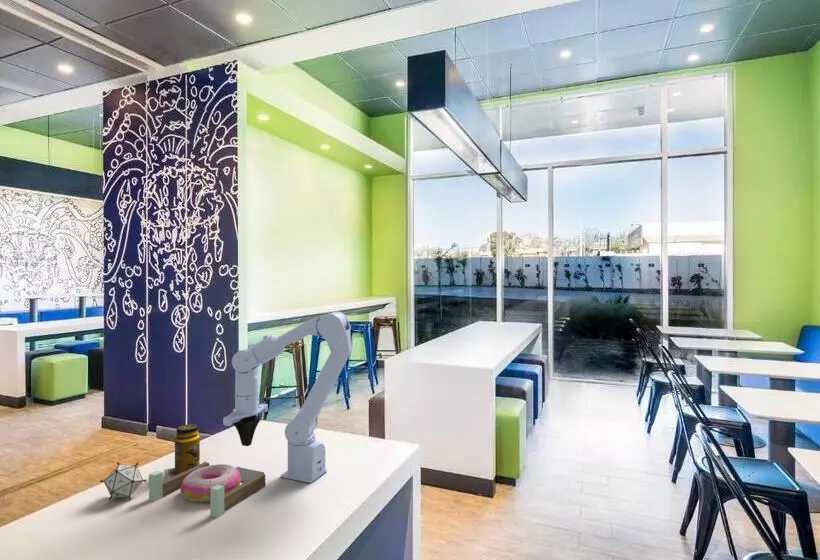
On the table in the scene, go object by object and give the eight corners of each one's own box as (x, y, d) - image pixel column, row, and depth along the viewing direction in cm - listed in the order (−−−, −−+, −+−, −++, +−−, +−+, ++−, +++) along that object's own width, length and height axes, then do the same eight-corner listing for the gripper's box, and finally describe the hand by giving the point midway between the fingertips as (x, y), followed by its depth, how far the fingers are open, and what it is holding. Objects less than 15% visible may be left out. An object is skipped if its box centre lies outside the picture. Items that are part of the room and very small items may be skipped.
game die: (122, 516, 107) (104, 495, 101) (105, 495, 111) (87, 473, 105) (158, 487, 112) (143, 465, 106) (141, 468, 116) (125, 445, 110)
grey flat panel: (263, 473, 122) (263, 472, 122) (246, 483, 116) (246, 482, 116) (237, 467, 126) (237, 466, 126) (219, 477, 120) (219, 476, 120)
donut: (198, 480, 118) (198, 460, 118) (249, 480, 118) (249, 461, 118) (169, 505, 105) (169, 484, 105) (227, 506, 105) (227, 485, 105)
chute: (266, 486, 114) (267, 462, 114) (217, 517, 100) (217, 489, 99) (203, 472, 122) (203, 450, 122) (149, 499, 108) (148, 473, 108)
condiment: (203, 473, 122) (203, 428, 122) (167, 480, 118) (167, 434, 118) (198, 463, 128) (198, 421, 128) (164, 470, 124) (164, 426, 124)
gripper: (253, 386, 131) (253, 434, 131) (214, 399, 117) (213, 452, 117) (273, 389, 128) (273, 437, 128) (235, 401, 115) (235, 456, 115)
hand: (246, 445), depth 122 cm, fingers closed
